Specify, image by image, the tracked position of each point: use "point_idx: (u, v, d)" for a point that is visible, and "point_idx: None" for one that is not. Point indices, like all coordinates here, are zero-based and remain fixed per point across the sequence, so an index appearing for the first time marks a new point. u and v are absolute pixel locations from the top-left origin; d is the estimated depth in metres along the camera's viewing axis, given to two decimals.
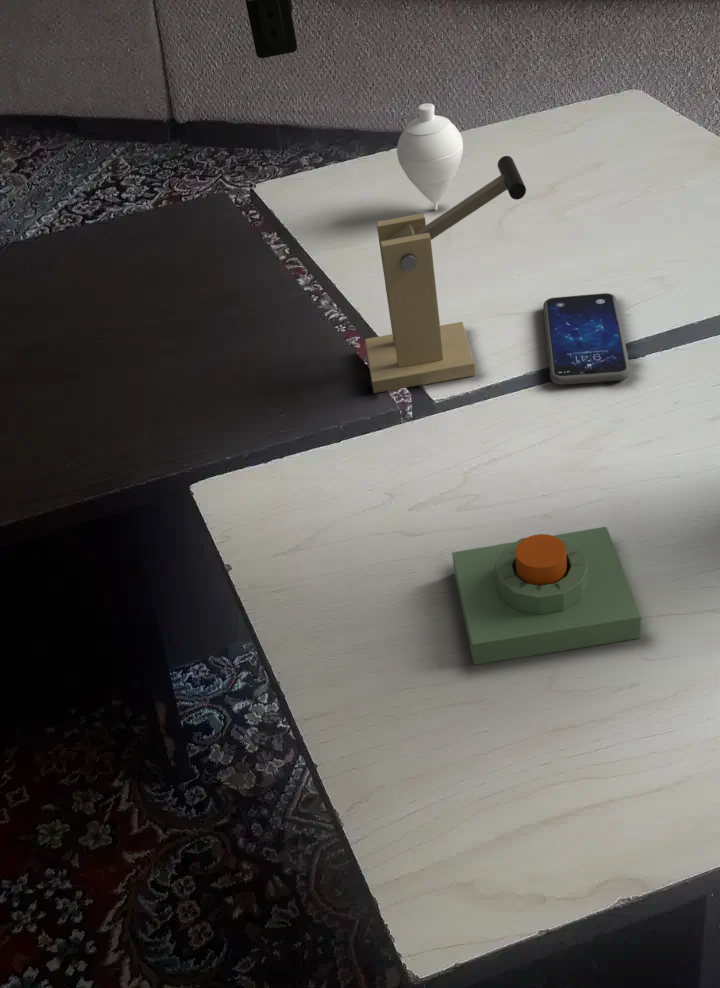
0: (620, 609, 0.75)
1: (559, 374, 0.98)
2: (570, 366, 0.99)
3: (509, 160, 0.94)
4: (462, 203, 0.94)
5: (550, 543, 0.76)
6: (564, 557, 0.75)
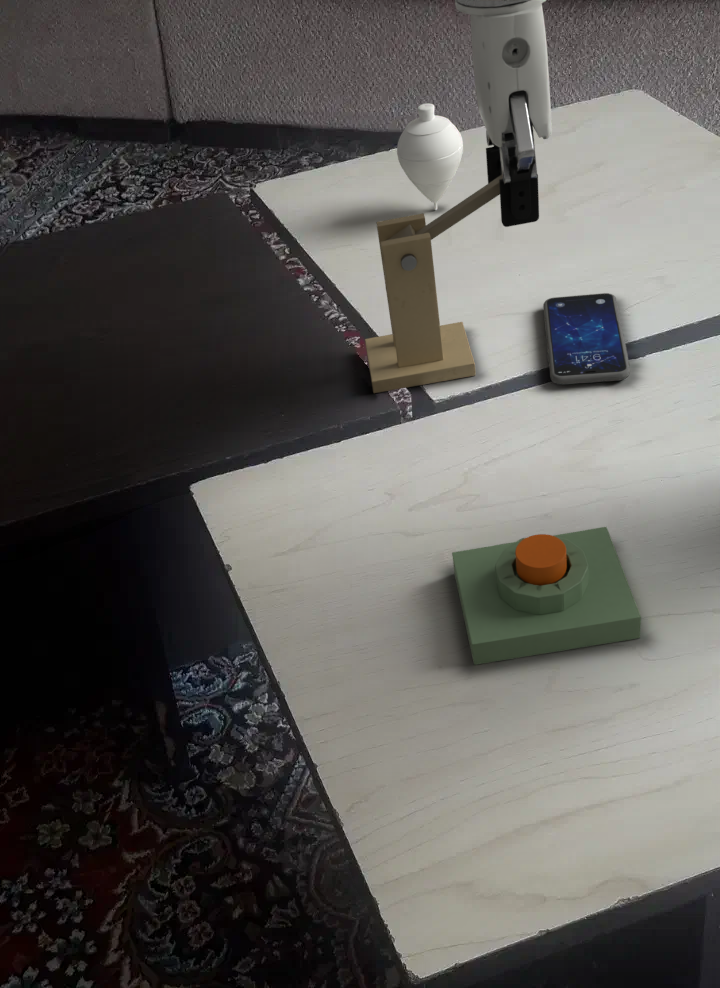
0: (620, 609, 0.75)
1: (559, 374, 0.98)
2: (570, 366, 0.99)
3: (509, 160, 0.94)
4: (462, 203, 0.94)
5: (550, 543, 0.76)
6: (564, 557, 0.75)
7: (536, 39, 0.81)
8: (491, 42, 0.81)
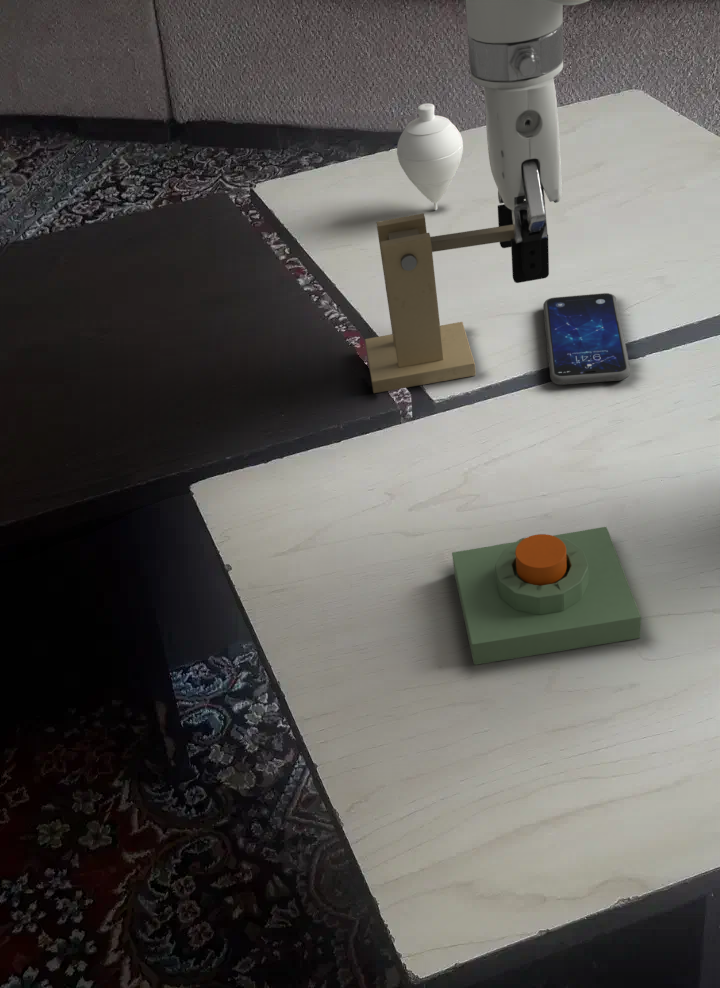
0: (620, 609, 0.75)
1: (559, 374, 0.98)
2: (570, 366, 0.99)
3: (526, 215, 0.97)
4: (473, 232, 0.96)
5: (550, 543, 0.76)
6: (564, 557, 0.75)
7: (548, 111, 0.85)
8: (505, 114, 0.85)
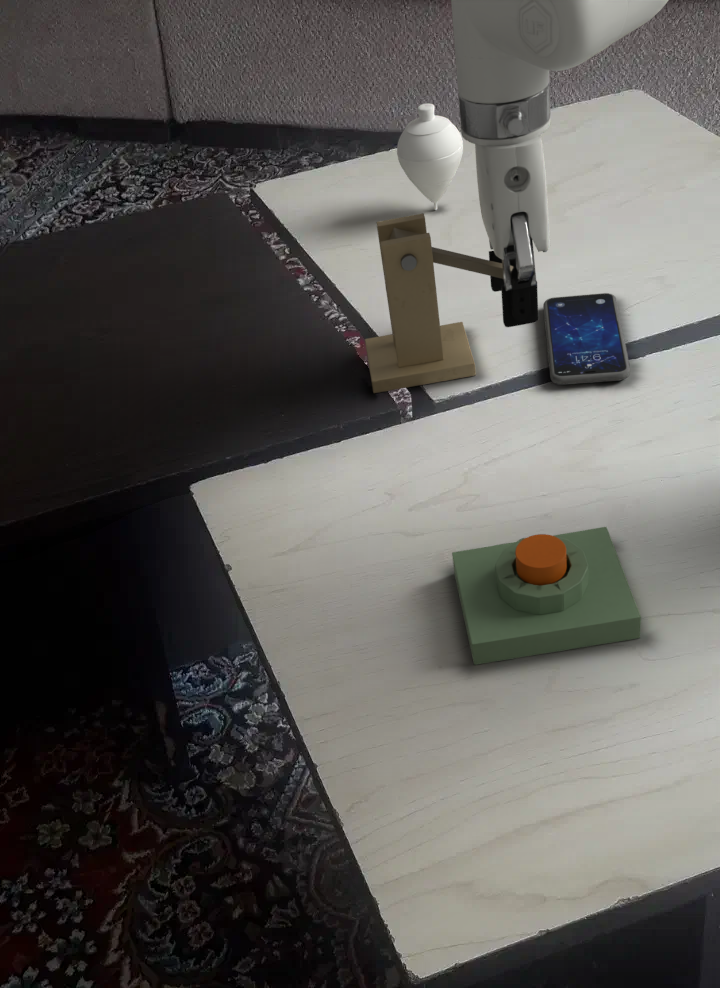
0: (620, 609, 0.75)
1: (559, 374, 0.98)
2: (570, 366, 0.99)
3: None
4: (471, 258, 0.98)
5: (550, 543, 0.76)
6: (564, 557, 0.75)
7: (536, 167, 0.88)
8: (494, 170, 0.88)
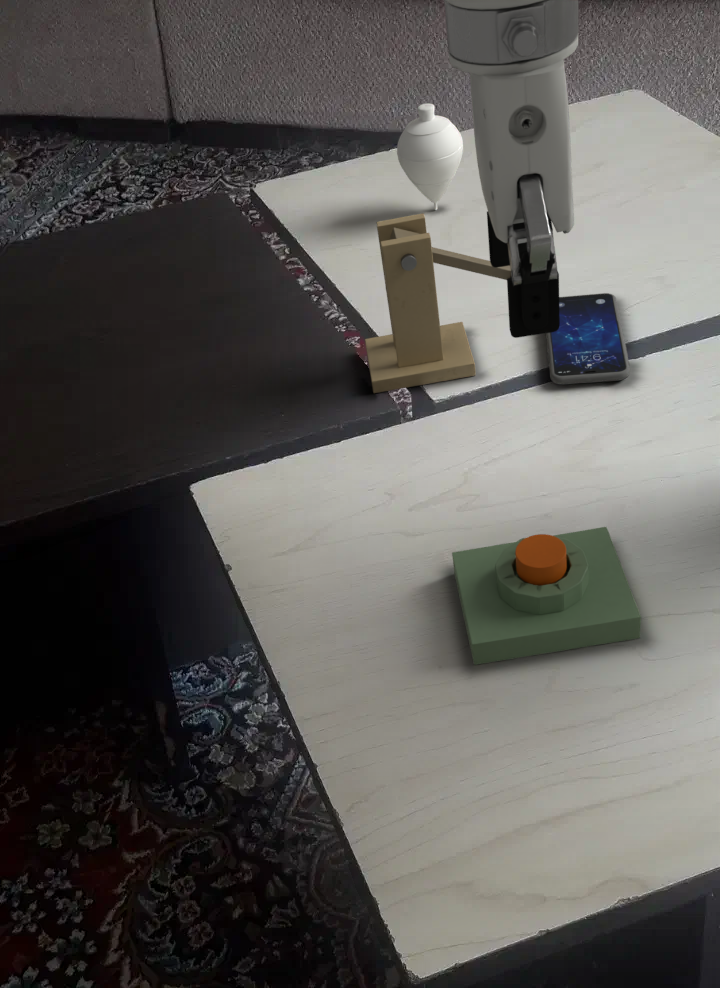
0: (620, 609, 0.75)
1: (559, 374, 0.98)
2: (570, 366, 0.99)
3: None
4: (471, 258, 0.98)
5: (550, 543, 0.76)
6: (564, 557, 0.75)
7: (555, 107, 0.60)
8: (494, 110, 0.60)
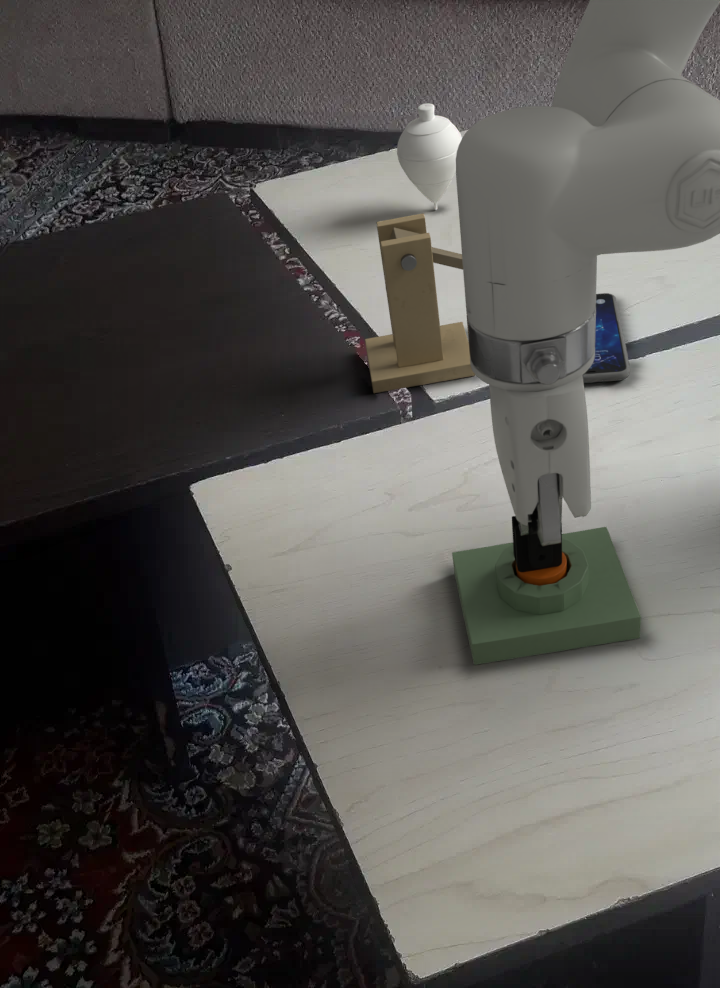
0: (620, 609, 0.75)
1: None
2: None
3: None
4: None
5: None
6: (564, 568, 0.76)
7: (575, 420, 0.63)
8: (517, 422, 0.63)
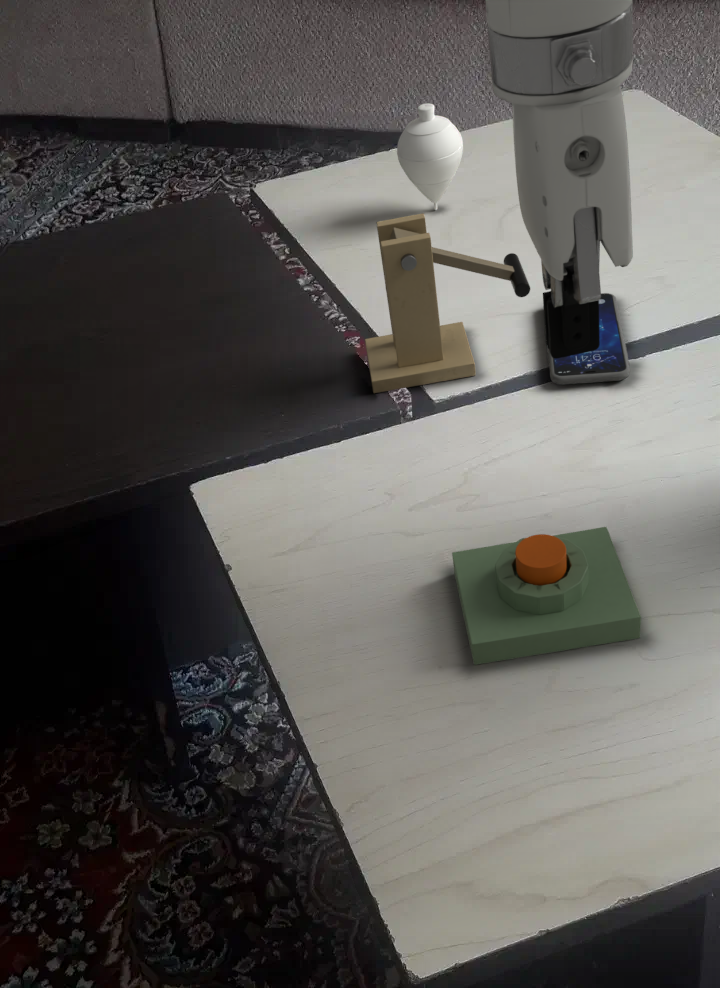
0: (620, 609, 0.75)
1: (559, 374, 0.98)
2: (570, 366, 0.99)
3: (519, 261, 1.00)
4: (471, 258, 0.98)
5: (550, 543, 0.76)
6: (564, 557, 0.75)
7: (614, 136, 0.56)
8: (549, 143, 0.56)
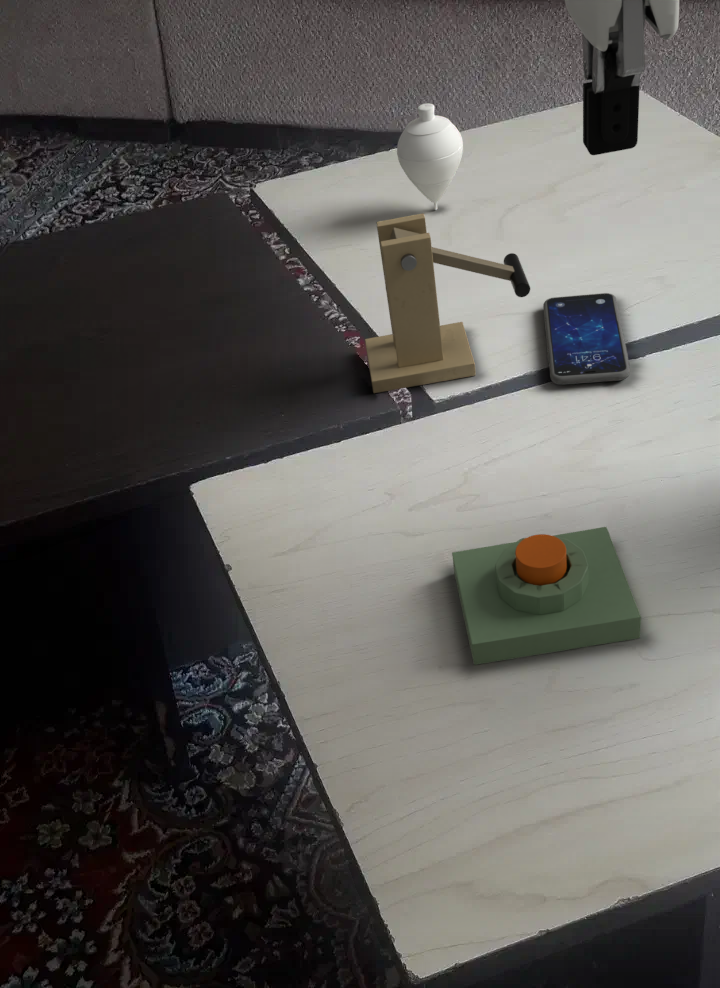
0: (620, 609, 0.75)
1: (559, 374, 0.98)
2: (570, 366, 0.99)
3: (519, 261, 1.00)
4: (471, 258, 0.98)
5: (550, 543, 0.76)
6: (564, 557, 0.75)
7: None
8: None
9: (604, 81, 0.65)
